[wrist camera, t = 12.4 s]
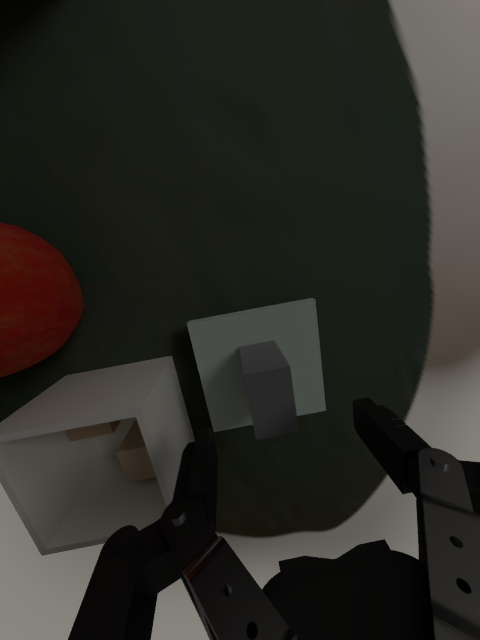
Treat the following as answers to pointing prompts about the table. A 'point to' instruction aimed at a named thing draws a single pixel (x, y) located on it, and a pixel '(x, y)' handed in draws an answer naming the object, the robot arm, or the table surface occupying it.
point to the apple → (34, 299)
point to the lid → (260, 367)
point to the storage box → (95, 453)
